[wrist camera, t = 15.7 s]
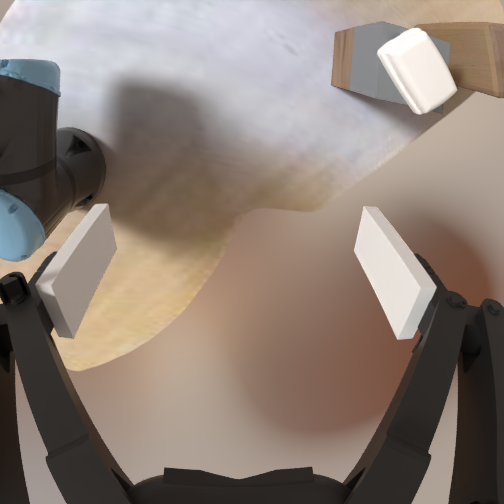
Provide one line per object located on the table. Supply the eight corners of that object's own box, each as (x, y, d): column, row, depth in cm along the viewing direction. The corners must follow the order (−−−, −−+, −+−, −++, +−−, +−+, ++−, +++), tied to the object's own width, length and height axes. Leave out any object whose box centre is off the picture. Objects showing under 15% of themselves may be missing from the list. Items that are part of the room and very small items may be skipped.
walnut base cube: (331, 85, 44) (349, 90, 37) (334, 32, 40) (354, 27, 32) (382, 93, 45) (407, 101, 37) (387, 43, 40) (413, 42, 33)
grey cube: (348, 90, 37) (375, 98, 29) (354, 27, 32) (382, 21, 24) (407, 101, 37) (441, 113, 30) (413, 42, 33) (450, 43, 25)
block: (464, 75, 42) (541, 97, 25) (422, 79, 43) (499, 100, 26) (454, 24, 36) (533, 28, 20) (410, 25, 38) (487, 22, 21)
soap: (453, 89, 28) (467, 93, 26) (414, 118, 30) (427, 123, 28) (415, 23, 24) (429, 22, 22) (372, 51, 27) (383, 51, 24)
